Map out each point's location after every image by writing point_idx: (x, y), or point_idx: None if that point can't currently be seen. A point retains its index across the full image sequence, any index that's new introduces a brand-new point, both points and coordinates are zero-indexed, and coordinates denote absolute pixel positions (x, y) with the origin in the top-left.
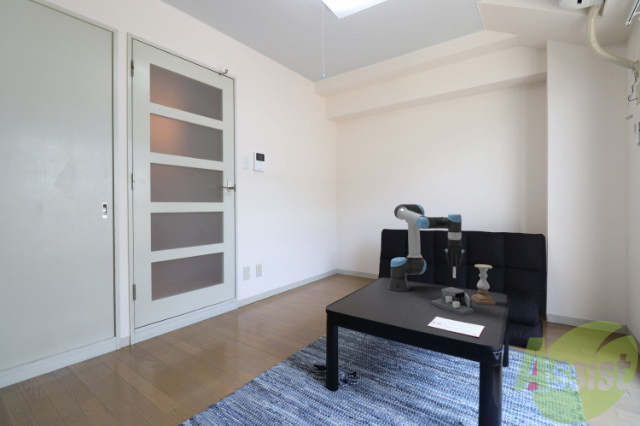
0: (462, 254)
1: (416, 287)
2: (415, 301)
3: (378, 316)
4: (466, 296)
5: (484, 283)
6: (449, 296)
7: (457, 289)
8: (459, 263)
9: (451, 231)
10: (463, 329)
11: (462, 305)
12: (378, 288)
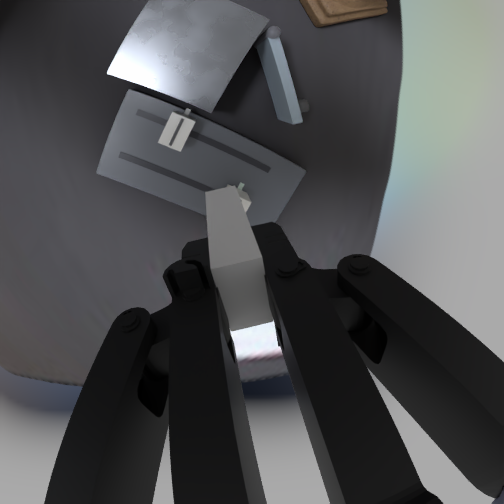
0: (482, 484)
1: None
2: (40, 182)
3: (74, 368)
4: (279, 79)
5: None
6: (178, 126)
7: (215, 11)
8: (359, 352)
9: None
10: (272, 337)
11: (255, 144)
12: None
